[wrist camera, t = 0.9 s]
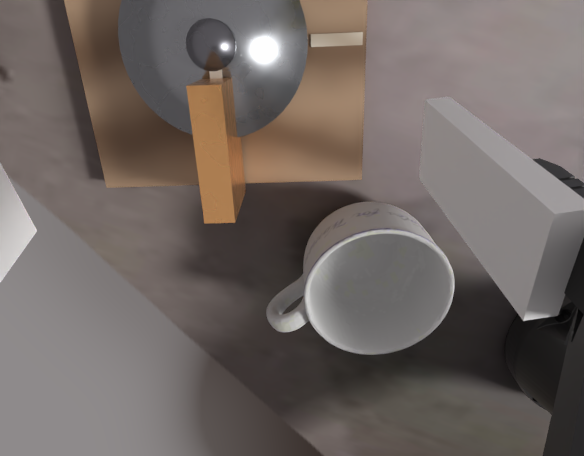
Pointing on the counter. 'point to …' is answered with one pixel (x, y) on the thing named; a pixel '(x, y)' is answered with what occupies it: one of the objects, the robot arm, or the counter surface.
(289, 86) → the dial
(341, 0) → the board
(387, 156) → the counter surface
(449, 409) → the counter surface
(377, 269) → the teacup
